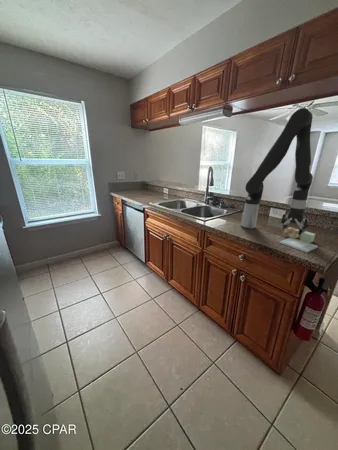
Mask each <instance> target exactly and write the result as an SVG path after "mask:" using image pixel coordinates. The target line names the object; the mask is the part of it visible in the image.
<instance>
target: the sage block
mask: <svg viewBox="0 0 338 450" xmlns="http://www.w3.org/2000/svg"><path fill="white" fill-rule="evenodd" d="M315 236H316V233H313V232H311V231H310V232H309V231H307V230H305V231H303V233H302V234H301V235H300V238H299V240H301V241H304V242H307V243H310V244H312V243H313V242H314V240H315Z"/></svg>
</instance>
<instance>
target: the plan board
mask: <svg viewBox="0 0 338 450" xmlns="http://www.w3.org/2000/svg"><path fill="white" fill-rule="evenodd" d="M279 244H281V245H285V246H287V247H290V248H293V249H295V250H298V251H301V252H304V253H309V252H311V251H313V250H315V249H318V247H319V245H316V244H313V243H307V242H304V241H301V240H300V239H298V238H291V237H290V238H288V237H287V238H285V239H283V240H280V241H279Z"/></svg>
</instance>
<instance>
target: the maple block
mask: <svg viewBox="0 0 338 450" xmlns="http://www.w3.org/2000/svg"><path fill="white" fill-rule="evenodd" d="M299 229H300V228H299ZM299 229H298V228H294V227H291V226H290V227H288V226H287V228H285V229H283V235H282V236H283V237H285V238H287V239H288V238H290V237H291V238H295V239H298V238H299V236H300V235H298V233H299Z"/></svg>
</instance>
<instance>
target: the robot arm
mask: <svg viewBox="0 0 338 450" xmlns="http://www.w3.org/2000/svg"><path fill="white" fill-rule="evenodd" d="M312 123H313V113H312V112H311V110H309V109H308V108H304V107H302V108H299V109H296V110H295V111H294V112H293V113H292V114H291V116H289V119H288V121H287V122H286V125H285V126H284V128H283V130H282V132H281V133H280V134H279V137H278V138H277V139H276V140H275V142H274V143H273V144H272V146H271V147H270V148H269V150H268V152H267V154H266V155H265V157H264V158H263V160H262V162H261V163H260V164H259V166H258V168H257V169H256V171H255V172H254V174H253V175H252V176H251V178H250V179H248V181H247V183H246V185H245V192H246V193H247V196H246V198H245V200H244V207H243V212H242V213H241V221H240V226H241V227H243V228H246V229H255V228H256V226H257V222H258V221H257V220H258V215H259V208H260V203H261V200H262V196H263V192H264V182H265V179H266V178H267V177H268V176H269V175H270V174H271V173H272V172H273V171H274V170H276V168H277V167H278V166H279V165H280V164H281V162H282V161H283V160H284V158H285V156H286V155H287V153H288V152H289V149H290V147H291V144H292V142H293V140H294V139H295V137H296V143H295V144H296V145H295V152H294V156H295V157H294V158H295V159H294V160H295V170H294V181H295V182H296V187H295V189H294V191H293V193H292V198H291V201H290V206H289V211H288V214H287V213H283V215H282V217H281V221H280V223H281V224H283V227H282V230H284V229H285V228H288V224H290V223H291V224H295V225H297V227H299V233H298V235H299V236H301V234H302V233H303V232H304V230H306V229H308V228H309V223H310V218H306V217H305V218H304V215H305V210H306V208H307V201H308V195H309V192H310V188H311V185H312V183H313V179H314V178H313V177H314V176H313V174H312V173H311V171H310V169H311V167H310V166H312V165H311V164H312V155H311V154H312V151H311V130H312ZM303 222H304V223H303Z"/></svg>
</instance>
